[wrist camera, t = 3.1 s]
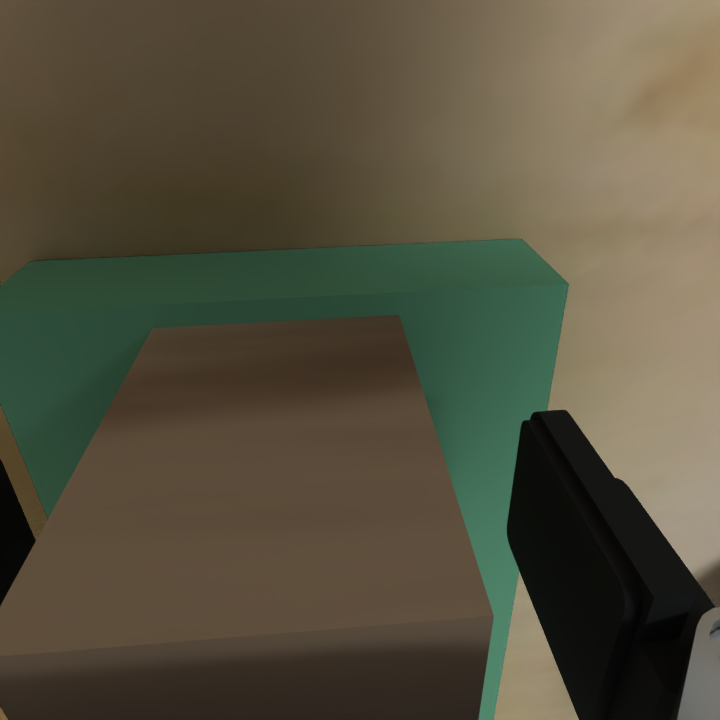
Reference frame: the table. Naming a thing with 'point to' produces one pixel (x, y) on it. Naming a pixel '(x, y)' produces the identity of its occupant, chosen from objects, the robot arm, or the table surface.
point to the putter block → (254, 542)
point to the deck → (303, 302)
